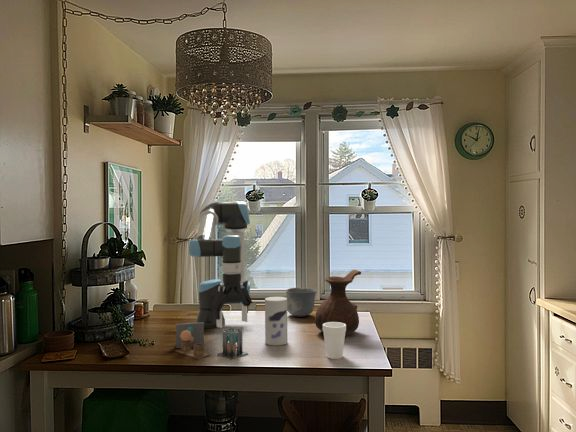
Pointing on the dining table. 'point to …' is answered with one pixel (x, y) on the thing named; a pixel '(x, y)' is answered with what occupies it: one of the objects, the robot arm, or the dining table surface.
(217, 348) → the dining table surface
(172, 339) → the dining table surface
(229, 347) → the tube ball
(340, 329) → the foam cup
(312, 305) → the bowl
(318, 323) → the jug
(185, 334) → the rack ball terracotta
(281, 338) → the container
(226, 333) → the grey barred cage
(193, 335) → the grey upright block
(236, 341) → the teal ball
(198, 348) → the rack
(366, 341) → the dining table surface
